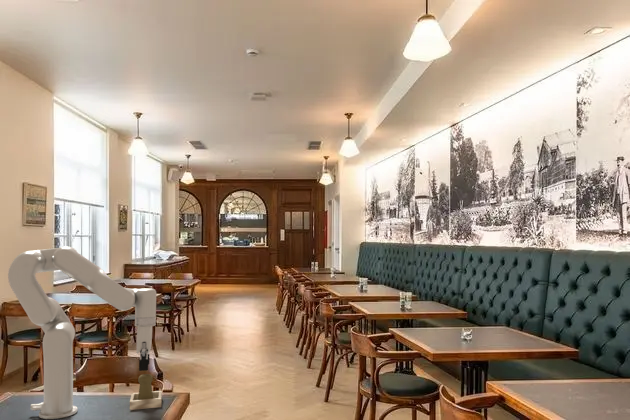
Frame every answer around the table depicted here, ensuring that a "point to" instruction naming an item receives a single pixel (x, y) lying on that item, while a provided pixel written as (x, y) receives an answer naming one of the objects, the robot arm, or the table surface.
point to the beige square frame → (146, 401)
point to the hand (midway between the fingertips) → (144, 367)
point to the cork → (145, 387)
